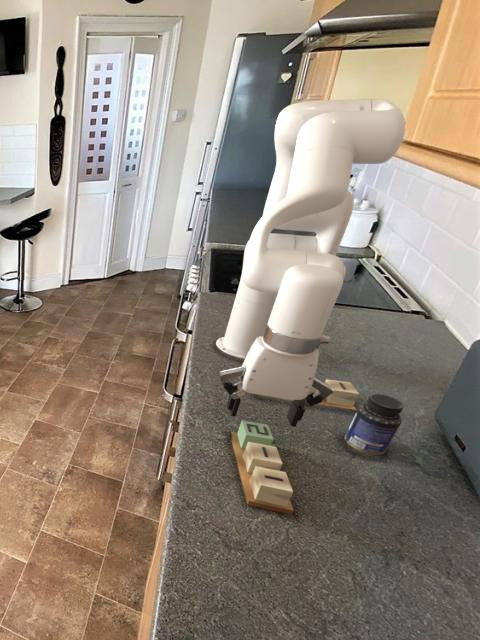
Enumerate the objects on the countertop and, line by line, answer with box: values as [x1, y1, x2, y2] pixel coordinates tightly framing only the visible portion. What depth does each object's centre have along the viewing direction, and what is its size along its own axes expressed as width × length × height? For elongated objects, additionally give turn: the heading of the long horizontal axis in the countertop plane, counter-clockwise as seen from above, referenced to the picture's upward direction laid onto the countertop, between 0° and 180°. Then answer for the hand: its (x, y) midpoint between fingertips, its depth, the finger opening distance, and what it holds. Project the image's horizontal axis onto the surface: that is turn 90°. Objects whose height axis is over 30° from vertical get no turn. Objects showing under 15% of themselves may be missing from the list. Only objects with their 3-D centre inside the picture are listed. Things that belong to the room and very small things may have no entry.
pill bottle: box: [344, 393, 405, 456], centre depth 80 cm, size 6×6×11 cm
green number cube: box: [236, 419, 275, 449], centre depth 83 cm, size 4×4×4 cm
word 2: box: [256, 378, 360, 411], centre depth 96 cm, size 6×18×5 cm, turn 70°
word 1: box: [229, 431, 295, 516], centre depth 78 cm, size 18×6×5 cm, turn 160°
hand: (260, 416), depth 81 cm, fingers open, 9 cm apart
